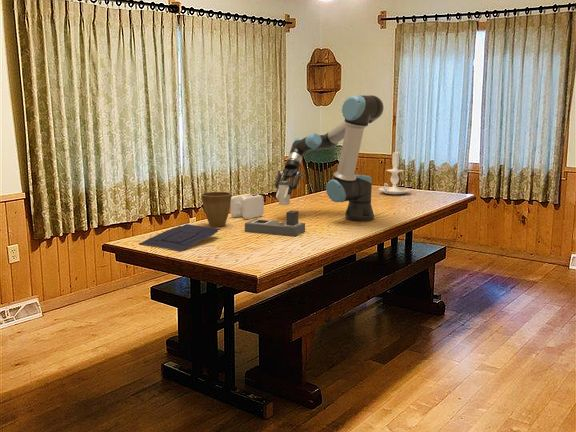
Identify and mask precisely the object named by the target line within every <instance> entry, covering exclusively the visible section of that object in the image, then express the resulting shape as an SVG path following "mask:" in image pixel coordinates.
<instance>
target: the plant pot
mask: <svg viewBox="0 0 576 432" xmlns="http://www.w3.org/2000/svg"><path fill="white" fill-rule="evenodd" d="M232 194H233V193H232V192H229V191H228V192H227V191H211V192H204V193H201V194H200V196H201V200H202V201H201V202H202V206H203V211H204V213H205V216H206V219H207V222H208V224H209V226H210V227H211V228H216V227H217V228H220V227H221V228H222V227H224V226H226V223H227V220H228V217H229V212H230V210H231V208H230V203H231V197H232V196H233V195H232Z"/></svg>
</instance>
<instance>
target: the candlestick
mask: <svg viewBox="0 0 576 432" xmlns="http://www.w3.org/2000/svg"><path fill="white" fill-rule="evenodd" d="M391 163H392V168H391V169H385V171H386V172H389V173H391V176H390V179H389V181H390V183H391V184H392V186H389V184H388V183H386V182H384V183H383V187H379V188H378V190H379V191H380V192H382V193H383V194H387V195H403V194H406V193H408V192H409V191H411V188H408V187H402V186H397V184H398V183H399V181H400V177H399V175H398V174H399V173H402V172H405V171H404V169H398V166H399V151H393V152H392V161H391Z"/></svg>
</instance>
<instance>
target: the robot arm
mask: <svg viewBox="0 0 576 432" xmlns="http://www.w3.org/2000/svg"><path fill="white" fill-rule="evenodd" d="M384 109H385V108H384V103H383V101H382V99H381V98H379V97H378V96H376V95H372V94H370V95H360V94H356V95H351V96H349V97H347V98H346V99H345V100H344V101H343V104H342V106H341V113H342V116H343V118H344V120H343V121H342V122H341V123H339V124H338V125H336V126H335V127H334V128H332V129H331V130H329V131H328V132H327V133H325V134H318V133H316V132H313V133H311V134H308V135H307V136H305V137H304V138H303V137H296V138H295V139H294V140H293V142H292V144H291V148H290V152H289V154H288V157H287V159H286V162H285V165H284V168H283V170H282V171H280V170H278V171H277V177H276V180H275V183H274V186H275V188H276V191H275V192H276V196H275V198H276V200H277V201H279V182H281V181H288V179H289V181H290V184H289V187H287V190H286V193H285V196H284V198H285V200H287V199H288V196H289V194H290V195H291V194H292V191H293V190H296V189H297V188H298V184H299V182H300V180H301V178H302V177H303V173H302V171H299V170H300V168H301V164H302V161H303V159H304V155H305V154H308V153H309V152H311V151H317V150H327V149H328V150H329V149H330V150H331V149H334V148H335V149H336V147H337V146H338V144H339V143H340V142H341V141H343V142H342V147H341V152H340V157H339V161H338V166H337V170H336V171H335V172H333V176H332V179H330V180H329V181H328V182H327V183H326V187H325V188H326V191H325V192H326V194H327V197H328V198H329V199H330V200H331V201H332V202H334V203H344V202H348V205H347V206H346V207H347V208H346V211H345V214H344V219H345V220H349V221H355V222H367V221H369V222H370V221H373V220H374V219H375V212H374V209H373V206H372V186H373V183H372V177H371V176H370V175H366V174H365V175H364V174H355V173H356V168H357V163H358V159H359V154H360V149H361V145H362V139H363V134H364V131H365V129H366V128H367V127H368V126H369V124H371V123H373V122H375V121H377V120H378V119H379V118H380V117H381V116H382V115H383V112H384Z"/></svg>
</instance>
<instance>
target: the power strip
mask: <svg viewBox="0 0 576 432" xmlns="http://www.w3.org/2000/svg"><path fill="white" fill-rule="evenodd" d="M285 219H286V220H285V221H284V220H275V219H265V218H264V219H263V218H253V219H252V220H250V221H247V222H245V223H244V232H247V233H254V234H255V233H256V234H265V235H266V234H267V235H276V236H277V235H278V236H286V237H287V236H288V237H297V236H299V235H301V234H303V233H304V232H306V222H299V210H289V211H286V218H285Z"/></svg>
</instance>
